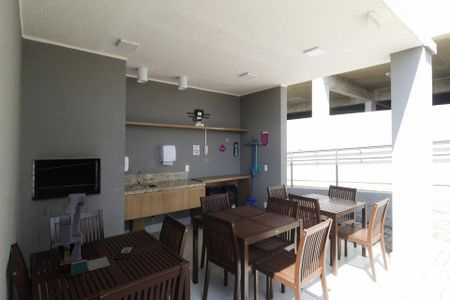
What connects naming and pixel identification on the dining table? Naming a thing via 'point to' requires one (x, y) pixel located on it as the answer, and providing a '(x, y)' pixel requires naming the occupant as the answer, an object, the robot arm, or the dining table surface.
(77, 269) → the tile
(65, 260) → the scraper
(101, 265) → the mat
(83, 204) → the robot arm
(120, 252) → the chocolate bar
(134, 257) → the dining table surface
